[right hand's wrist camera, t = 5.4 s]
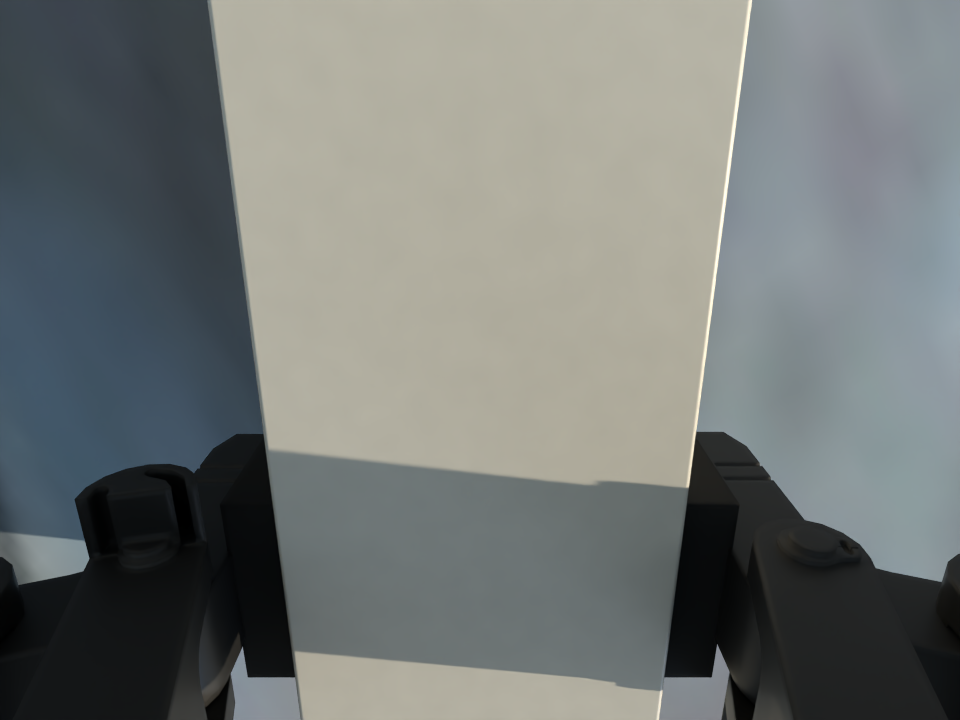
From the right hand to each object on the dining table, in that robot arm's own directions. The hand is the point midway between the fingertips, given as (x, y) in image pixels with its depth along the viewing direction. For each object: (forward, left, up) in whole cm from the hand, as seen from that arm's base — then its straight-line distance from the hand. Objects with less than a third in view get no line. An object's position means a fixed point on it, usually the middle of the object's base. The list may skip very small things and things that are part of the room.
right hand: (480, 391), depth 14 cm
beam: (+13, +23, -1) cm, 26 cm away
